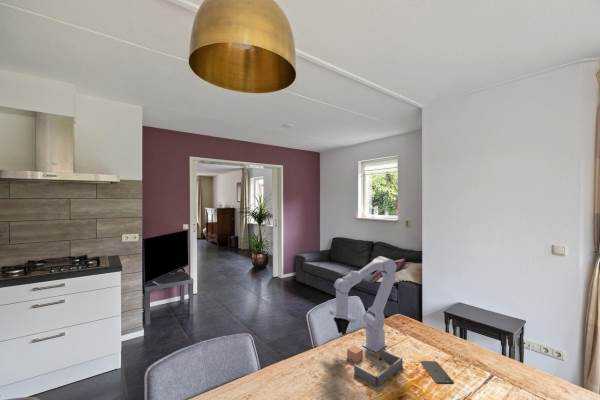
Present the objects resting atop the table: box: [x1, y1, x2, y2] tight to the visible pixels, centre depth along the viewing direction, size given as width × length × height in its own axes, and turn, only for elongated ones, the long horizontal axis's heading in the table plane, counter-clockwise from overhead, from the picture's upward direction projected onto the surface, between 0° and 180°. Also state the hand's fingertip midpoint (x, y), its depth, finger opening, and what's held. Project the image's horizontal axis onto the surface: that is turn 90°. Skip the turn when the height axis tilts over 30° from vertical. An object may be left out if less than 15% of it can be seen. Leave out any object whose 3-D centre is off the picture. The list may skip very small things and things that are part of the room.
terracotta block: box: [346, 345, 364, 363], centre depth 123 cm, size 5×5×4 cm
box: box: [353, 348, 403, 388], centre depth 114 cm, size 20×11×4 cm, turn 132°
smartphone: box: [420, 360, 455, 385], centre depth 113 cm, size 7×1×15 cm
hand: (342, 333), depth 129 cm, fingers closed
